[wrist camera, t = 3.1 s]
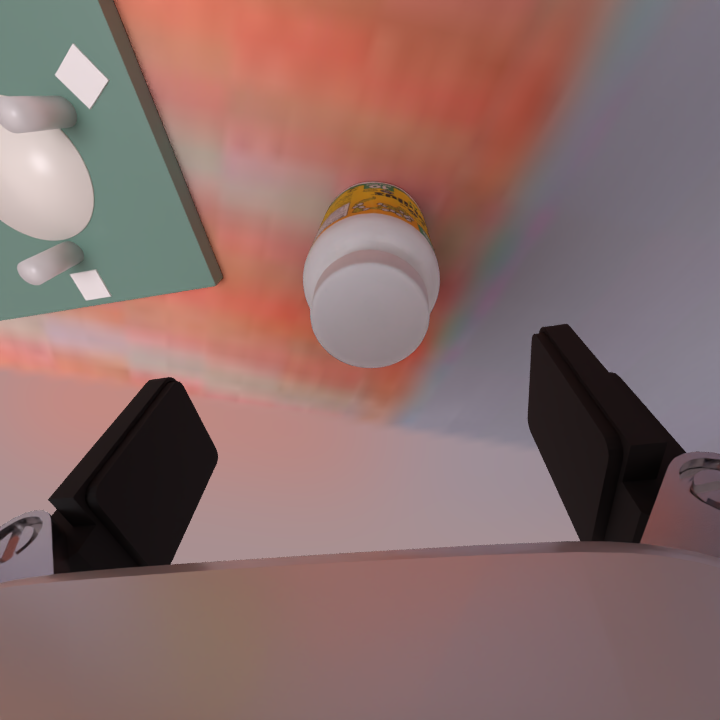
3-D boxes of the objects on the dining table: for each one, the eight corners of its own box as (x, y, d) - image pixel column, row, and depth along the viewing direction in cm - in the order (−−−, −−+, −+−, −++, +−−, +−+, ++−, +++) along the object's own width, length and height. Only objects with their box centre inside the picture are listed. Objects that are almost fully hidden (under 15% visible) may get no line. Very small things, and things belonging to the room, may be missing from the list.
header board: (88, -62, 15) (1, -107, 12) (223, 277, 23) (194, 310, 19) (-195, 27, 17) (-340, 11, 14) (15, 311, 25) (-45, 347, 21)
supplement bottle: (303, 233, 21) (254, 319, 13) (374, 153, 19) (365, 198, 11) (374, 299, 23) (369, 407, 15) (447, 233, 21) (484, 320, 13)
